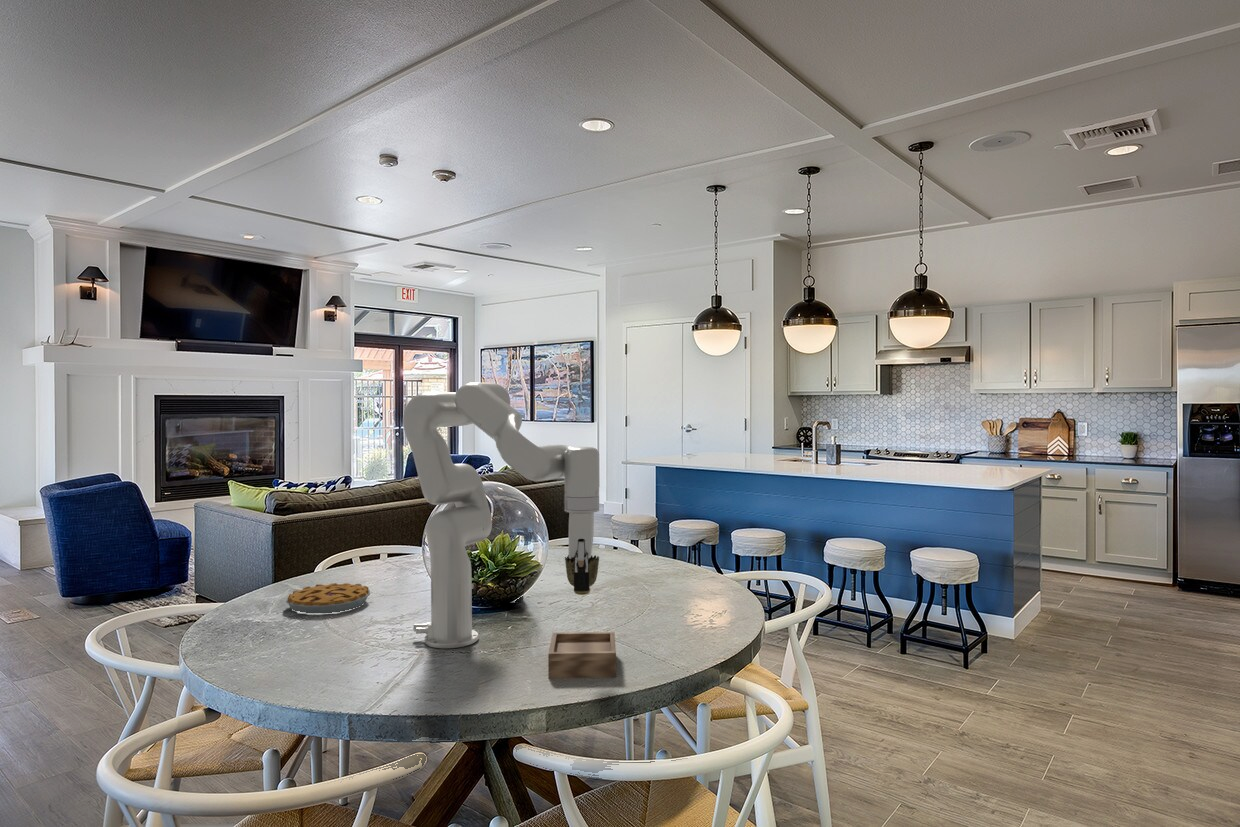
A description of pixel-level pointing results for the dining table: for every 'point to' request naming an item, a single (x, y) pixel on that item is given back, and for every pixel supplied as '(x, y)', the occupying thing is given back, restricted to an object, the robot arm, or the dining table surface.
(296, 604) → the pie
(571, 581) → the cup
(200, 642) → the dining table surface
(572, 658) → the shallow wooden tray
